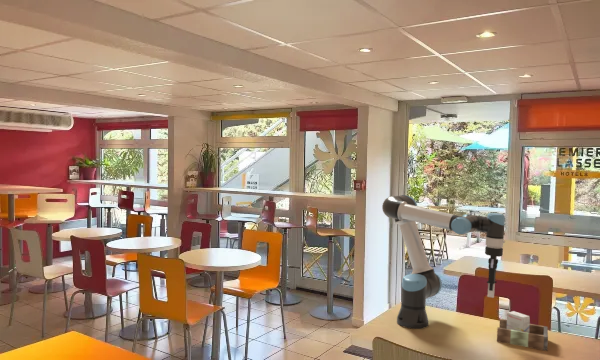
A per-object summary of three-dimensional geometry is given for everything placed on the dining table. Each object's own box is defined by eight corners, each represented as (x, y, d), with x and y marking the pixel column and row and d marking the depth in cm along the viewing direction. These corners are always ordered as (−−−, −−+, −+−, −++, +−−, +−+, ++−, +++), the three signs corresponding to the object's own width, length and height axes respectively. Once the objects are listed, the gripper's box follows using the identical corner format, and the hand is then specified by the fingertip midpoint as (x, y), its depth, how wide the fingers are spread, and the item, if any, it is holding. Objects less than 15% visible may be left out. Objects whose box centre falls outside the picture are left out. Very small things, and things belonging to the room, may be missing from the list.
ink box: (529, 342, 208) (531, 316, 207) (522, 344, 205) (524, 317, 205) (512, 335, 215) (513, 310, 215) (505, 337, 213) (506, 312, 212)
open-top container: (496, 341, 207) (497, 328, 207) (499, 331, 221) (499, 318, 221) (547, 350, 198) (547, 337, 198) (546, 339, 212) (547, 326, 211)
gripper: (502, 250, 207) (498, 301, 208) (504, 245, 218) (500, 294, 219) (484, 247, 210) (480, 298, 211) (487, 243, 222) (483, 292, 223)
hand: (490, 296), depth 215 cm, fingers closed
